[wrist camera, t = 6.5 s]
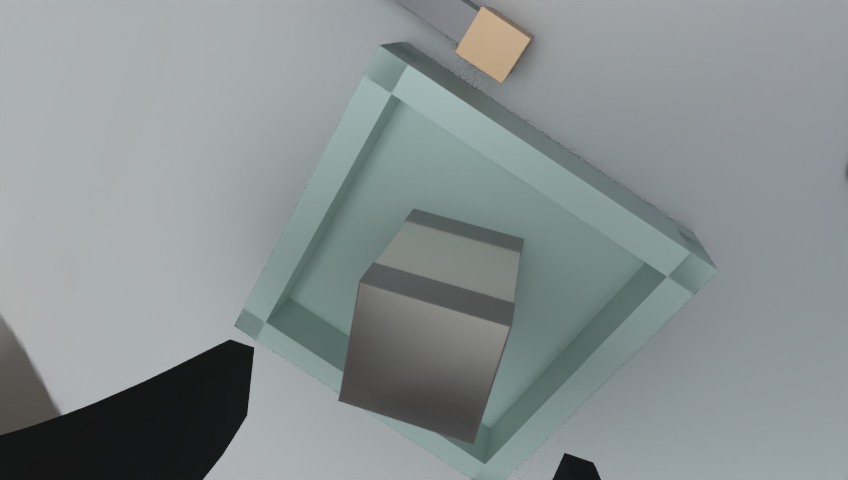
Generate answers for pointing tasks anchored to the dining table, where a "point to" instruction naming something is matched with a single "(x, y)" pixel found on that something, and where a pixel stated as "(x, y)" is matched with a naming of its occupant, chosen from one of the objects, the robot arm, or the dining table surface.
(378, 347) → the gray block
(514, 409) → the tray
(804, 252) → the dining table surface
